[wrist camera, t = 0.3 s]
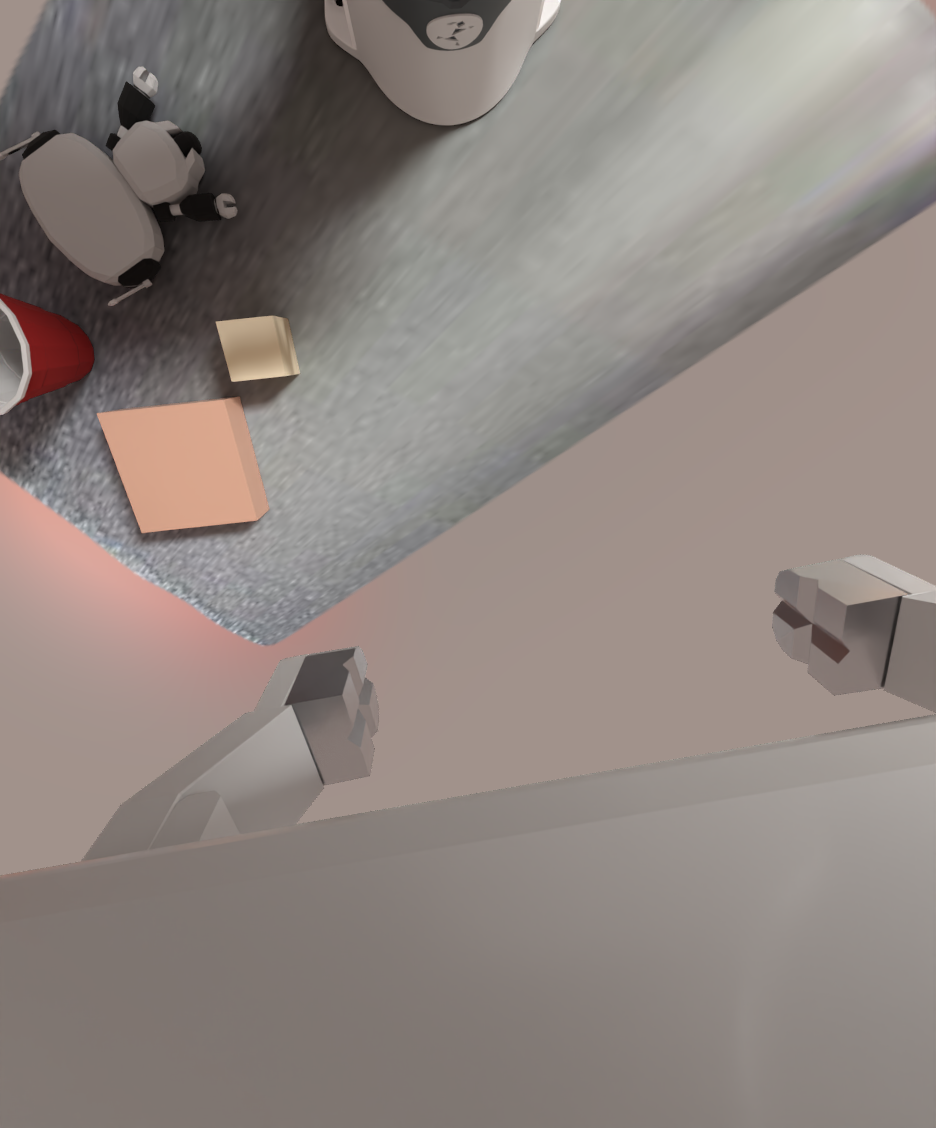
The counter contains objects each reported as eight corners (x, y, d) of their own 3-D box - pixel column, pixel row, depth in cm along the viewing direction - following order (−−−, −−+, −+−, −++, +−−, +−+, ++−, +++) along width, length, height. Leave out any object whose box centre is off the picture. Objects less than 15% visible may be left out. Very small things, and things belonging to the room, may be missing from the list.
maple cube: (237, 324, 48) (215, 321, 44) (288, 318, 48) (272, 315, 44) (250, 379, 50) (231, 381, 46) (300, 373, 50) (286, 375, 46)
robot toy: (159, 73, 42) (20, 178, 43) (131, 39, 38) (-22, 157, 39) (256, 224, 46) (127, 315, 47) (241, 209, 42) (100, 309, 43)
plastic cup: (33, 254, 45) (-98, 223, 34) (142, 345, 49) (55, 343, 38) (-22, 347, 48) (-160, 346, 37) (85, 428, 51) (-12, 449, 40)
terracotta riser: (121, 408, 51) (96, 413, 47) (239, 396, 51) (223, 399, 47) (161, 521, 55) (141, 533, 52) (269, 509, 56) (257, 520, 52)
